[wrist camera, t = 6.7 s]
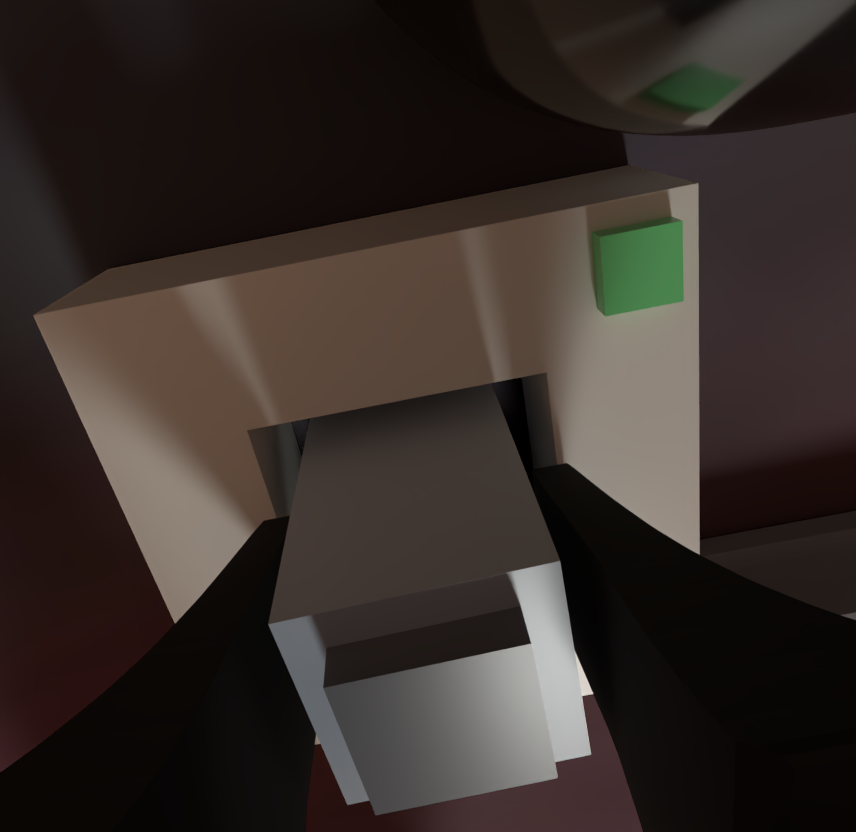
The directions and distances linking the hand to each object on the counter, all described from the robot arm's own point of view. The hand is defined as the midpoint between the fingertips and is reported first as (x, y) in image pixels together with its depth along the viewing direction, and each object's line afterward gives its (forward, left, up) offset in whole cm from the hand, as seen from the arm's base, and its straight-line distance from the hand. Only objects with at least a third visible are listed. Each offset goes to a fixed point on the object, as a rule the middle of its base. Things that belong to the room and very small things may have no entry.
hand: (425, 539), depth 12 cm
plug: (0, 0, -4) cm, 4 cm away
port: (0, 0, -3) cm, 3 cm away
